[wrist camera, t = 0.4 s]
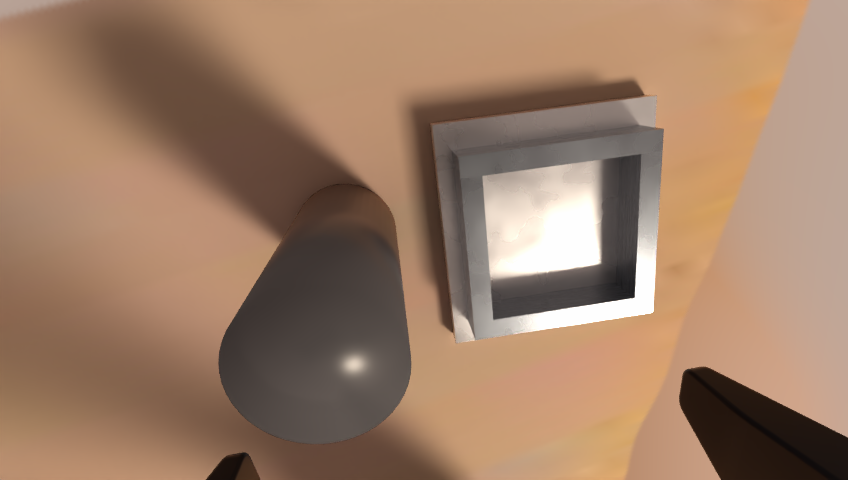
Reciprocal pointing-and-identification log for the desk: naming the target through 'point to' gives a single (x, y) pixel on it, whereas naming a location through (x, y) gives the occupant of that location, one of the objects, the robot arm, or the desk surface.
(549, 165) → the square tray
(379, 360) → the grey domed cylinder
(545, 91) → the desk surface
